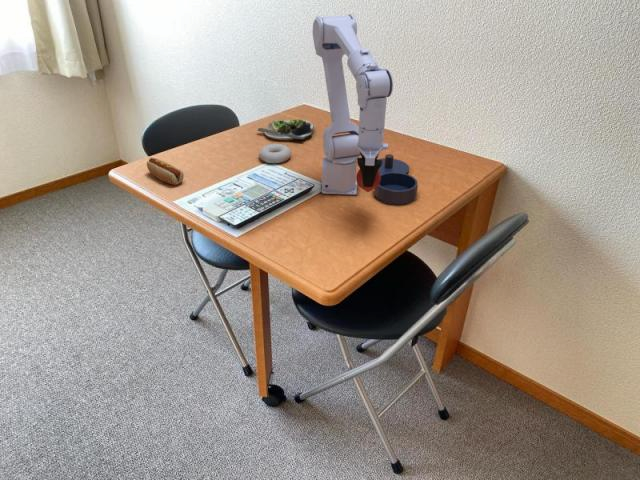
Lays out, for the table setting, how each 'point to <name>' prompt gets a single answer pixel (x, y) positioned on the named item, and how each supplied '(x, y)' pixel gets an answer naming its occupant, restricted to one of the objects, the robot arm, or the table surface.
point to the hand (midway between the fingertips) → (368, 180)
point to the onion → (360, 181)
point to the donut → (275, 153)
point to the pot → (396, 188)
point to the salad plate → (289, 130)
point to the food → (165, 171)
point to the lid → (392, 165)
